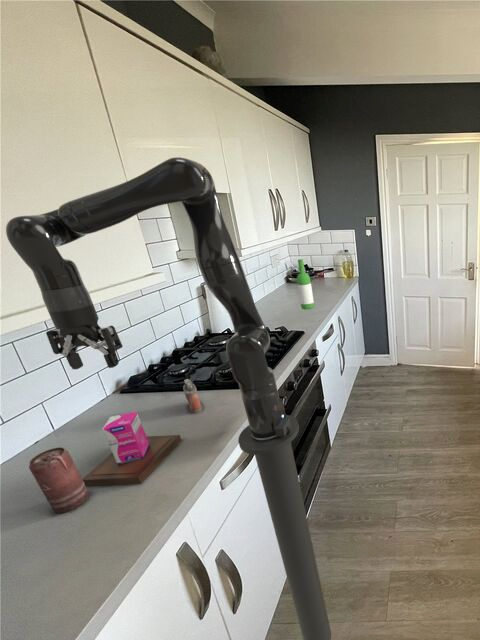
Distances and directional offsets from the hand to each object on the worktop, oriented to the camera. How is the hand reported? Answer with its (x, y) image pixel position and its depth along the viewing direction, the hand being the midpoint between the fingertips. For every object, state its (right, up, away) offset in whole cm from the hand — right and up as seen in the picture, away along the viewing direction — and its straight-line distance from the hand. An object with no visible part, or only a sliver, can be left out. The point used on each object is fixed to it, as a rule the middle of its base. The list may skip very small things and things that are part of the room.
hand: (96, 367), depth 86 cm
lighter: (+4, -18, +31) cm, 36 cm away
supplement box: (+4, -25, +7) cm, 26 cm away
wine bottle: (+7, +20, +129) cm, 131 cm away
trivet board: (+4, -26, +8) cm, 28 cm away
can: (-1, -31, -5) cm, 32 cm away
